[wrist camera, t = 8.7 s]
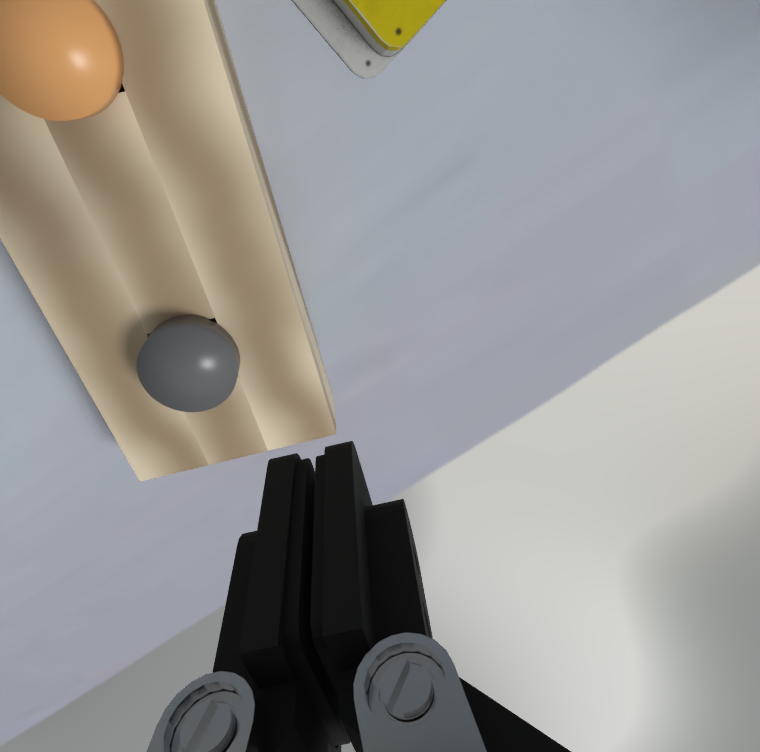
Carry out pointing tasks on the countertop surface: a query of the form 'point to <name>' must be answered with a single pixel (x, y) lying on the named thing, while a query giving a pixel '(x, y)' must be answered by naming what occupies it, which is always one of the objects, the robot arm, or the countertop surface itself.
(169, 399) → the gray knob
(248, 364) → the control block
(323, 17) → the emergency button
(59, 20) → the orange knob
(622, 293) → the countertop surface
